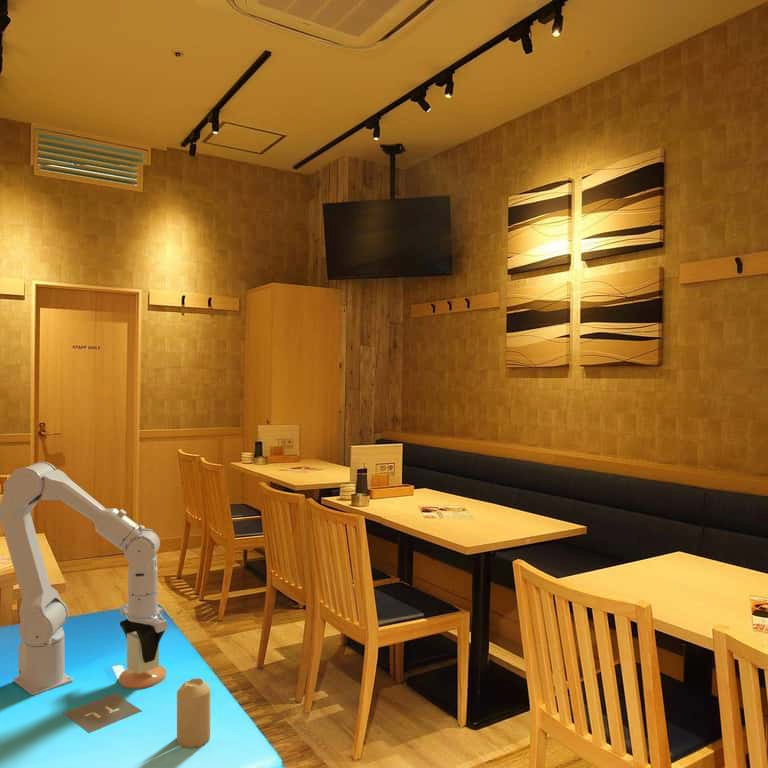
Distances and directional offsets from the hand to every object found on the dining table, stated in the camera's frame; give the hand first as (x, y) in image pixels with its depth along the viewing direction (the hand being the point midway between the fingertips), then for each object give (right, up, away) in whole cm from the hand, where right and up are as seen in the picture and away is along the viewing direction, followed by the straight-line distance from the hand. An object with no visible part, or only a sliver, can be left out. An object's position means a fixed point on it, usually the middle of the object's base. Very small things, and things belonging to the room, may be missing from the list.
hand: (142, 657), depth 137 cm
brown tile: (-2, -5, -14) cm, 15 cm away
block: (0, -2, 0) cm, 2 cm away
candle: (+17, -5, -22) cm, 28 cm away
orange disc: (0, -4, 0) cm, 4 cm away
